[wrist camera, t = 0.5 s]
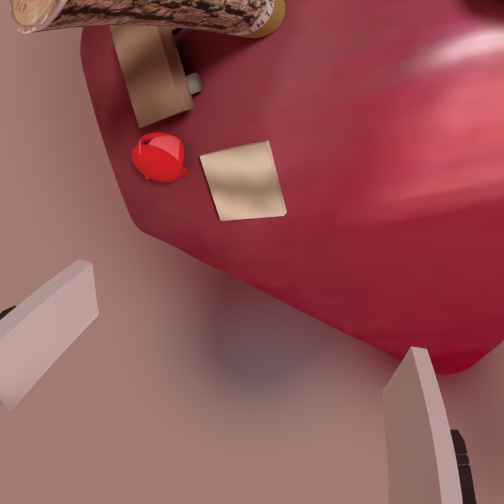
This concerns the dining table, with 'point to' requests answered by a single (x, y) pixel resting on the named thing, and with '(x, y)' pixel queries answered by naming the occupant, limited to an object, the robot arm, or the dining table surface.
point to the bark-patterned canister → (152, 14)
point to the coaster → (244, 182)
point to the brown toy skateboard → (153, 72)
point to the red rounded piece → (160, 157)
